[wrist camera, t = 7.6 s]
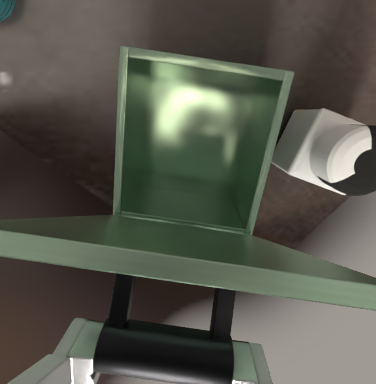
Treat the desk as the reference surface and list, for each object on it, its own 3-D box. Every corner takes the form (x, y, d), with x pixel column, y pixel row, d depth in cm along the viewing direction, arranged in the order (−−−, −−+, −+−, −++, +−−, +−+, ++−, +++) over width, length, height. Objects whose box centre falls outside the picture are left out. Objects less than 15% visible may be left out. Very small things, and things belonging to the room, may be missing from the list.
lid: (-55, 222, 7) (-96, 394, 7) (411, 289, 7) (402, 465, 7) (111, 214, 23) (103, 264, 23) (253, 235, 23) (247, 285, 23)
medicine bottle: (344, 128, 29) (436, 137, 18) (315, 179, 32) (381, 215, 20) (293, 108, 29) (356, 104, 17) (268, 161, 31) (308, 188, 20)
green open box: (145, 68, 28) (119, 44, 19) (263, 85, 28) (295, 71, 19) (136, 188, 33) (112, 216, 24) (236, 203, 33) (251, 237, 24)
